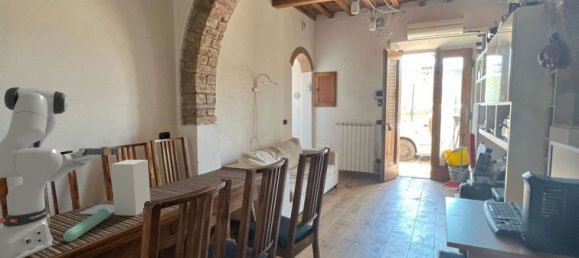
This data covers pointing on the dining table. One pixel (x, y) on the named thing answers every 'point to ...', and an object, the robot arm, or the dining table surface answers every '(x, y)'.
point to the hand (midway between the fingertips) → (87, 149)
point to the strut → (100, 151)
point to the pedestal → (130, 186)
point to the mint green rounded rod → (85, 225)
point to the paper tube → (47, 204)
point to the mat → (96, 208)
